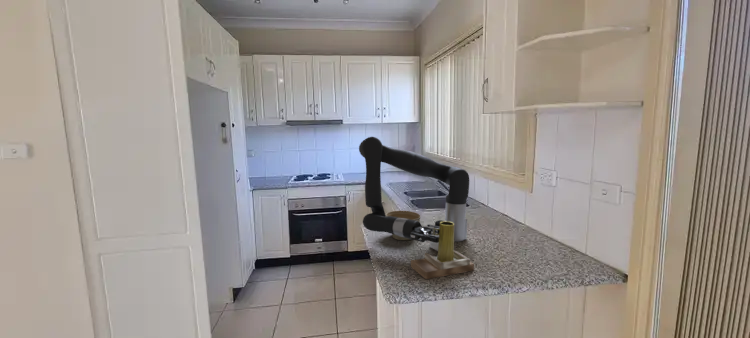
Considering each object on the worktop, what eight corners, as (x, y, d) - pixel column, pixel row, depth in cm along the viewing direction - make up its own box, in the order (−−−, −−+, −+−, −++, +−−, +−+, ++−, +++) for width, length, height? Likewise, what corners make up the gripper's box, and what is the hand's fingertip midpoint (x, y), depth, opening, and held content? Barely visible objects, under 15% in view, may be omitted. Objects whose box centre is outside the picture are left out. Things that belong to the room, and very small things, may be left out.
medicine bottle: (439, 252, 139) (440, 224, 138) (429, 247, 145) (430, 220, 144) (453, 250, 142) (454, 222, 141) (442, 244, 149) (443, 218, 147)
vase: (435, 257, 127) (436, 221, 125) (451, 257, 128) (452, 220, 126) (439, 264, 121) (441, 225, 119) (456, 263, 122) (457, 225, 120)
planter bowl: (386, 243, 150) (387, 219, 148) (384, 232, 166) (384, 210, 164) (422, 243, 150) (423, 219, 149) (416, 231, 166) (417, 210, 165)
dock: (455, 259, 132) (456, 248, 132) (473, 270, 122) (474, 258, 122) (410, 266, 125) (411, 255, 124) (425, 279, 115) (426, 266, 114)
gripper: (397, 223, 128) (435, 231, 118) (416, 215, 139) (452, 222, 129) (396, 242, 129) (434, 252, 119) (415, 233, 140) (451, 241, 130)
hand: (443, 236), depth 124 cm, fingers open, 8 cm apart
